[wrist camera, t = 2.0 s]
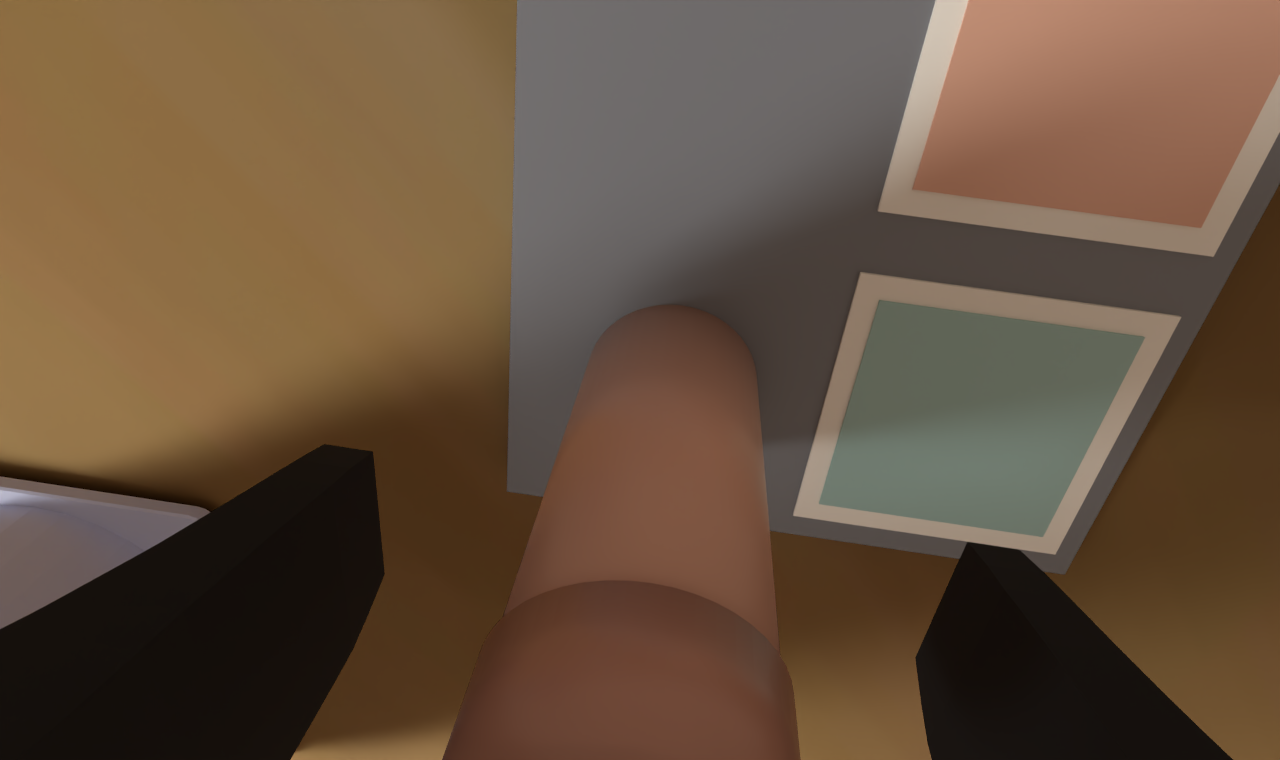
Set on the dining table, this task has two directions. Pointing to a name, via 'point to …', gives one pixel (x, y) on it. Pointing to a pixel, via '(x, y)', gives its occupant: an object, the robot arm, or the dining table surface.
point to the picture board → (895, 235)
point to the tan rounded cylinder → (644, 570)
